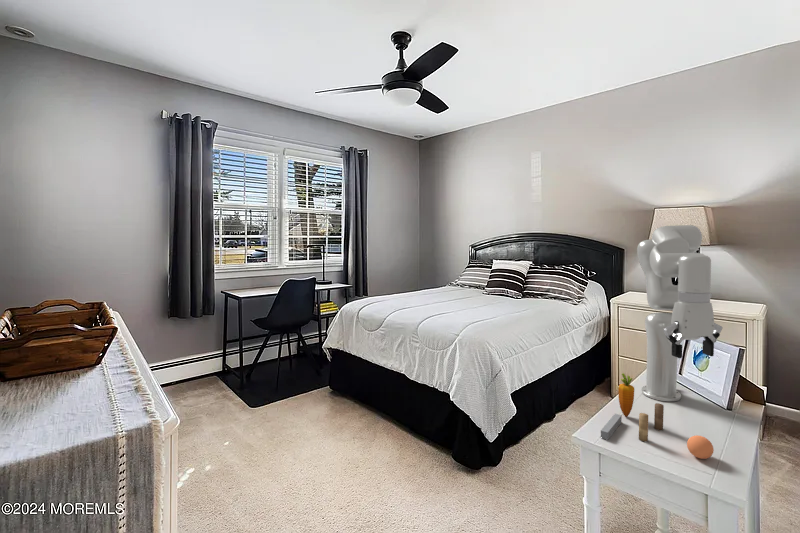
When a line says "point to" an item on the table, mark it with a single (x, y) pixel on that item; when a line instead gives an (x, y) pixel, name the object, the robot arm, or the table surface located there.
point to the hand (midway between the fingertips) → (692, 355)
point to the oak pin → (643, 427)
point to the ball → (700, 447)
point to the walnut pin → (658, 417)
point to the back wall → (611, 426)
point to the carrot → (626, 395)
